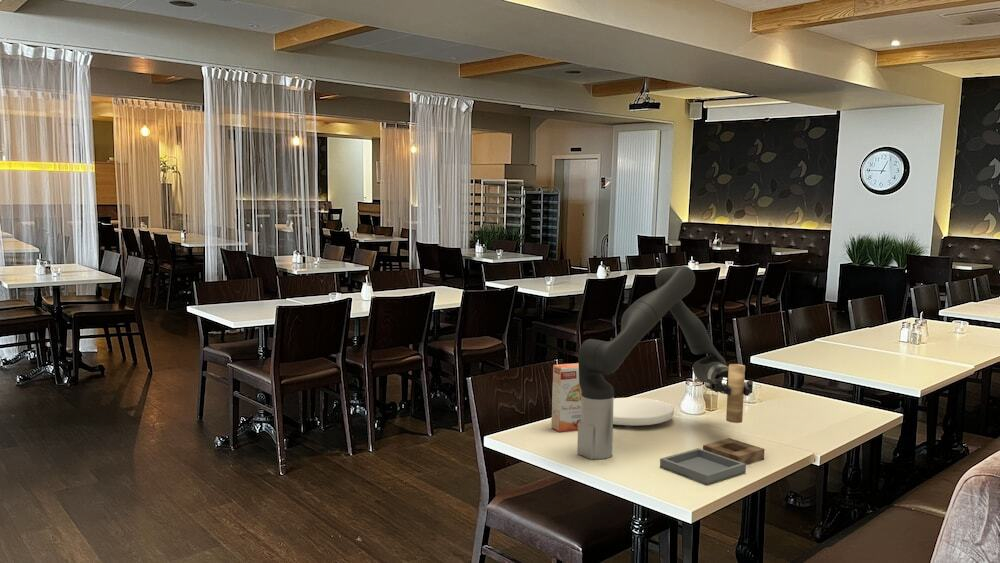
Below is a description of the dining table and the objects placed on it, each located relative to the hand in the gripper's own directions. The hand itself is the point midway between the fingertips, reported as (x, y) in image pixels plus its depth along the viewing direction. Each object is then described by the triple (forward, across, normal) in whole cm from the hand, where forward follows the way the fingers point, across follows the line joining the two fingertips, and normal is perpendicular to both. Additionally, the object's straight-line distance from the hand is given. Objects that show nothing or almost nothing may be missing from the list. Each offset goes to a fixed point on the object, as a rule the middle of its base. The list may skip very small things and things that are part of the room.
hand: (738, 391), depth 209 cm
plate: (-40, -24, +20) cm, 51 cm away
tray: (+8, -11, +20) cm, 24 cm away
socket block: (-3, 0, +20) cm, 20 cm away
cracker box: (-28, -44, +20) cm, 56 cm away
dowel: (-3, 0, +9) cm, 9 cm away
